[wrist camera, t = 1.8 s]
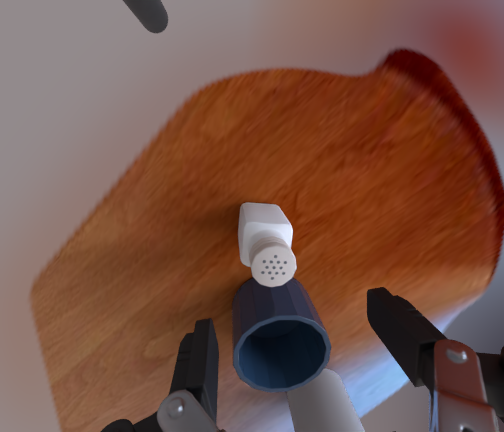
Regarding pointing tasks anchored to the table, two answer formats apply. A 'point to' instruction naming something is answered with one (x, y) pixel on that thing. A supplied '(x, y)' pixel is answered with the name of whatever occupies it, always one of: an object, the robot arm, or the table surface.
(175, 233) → the table surface
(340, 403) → the can
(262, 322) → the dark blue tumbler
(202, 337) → the robot arm
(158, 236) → the table surface
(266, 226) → the salt shaker
